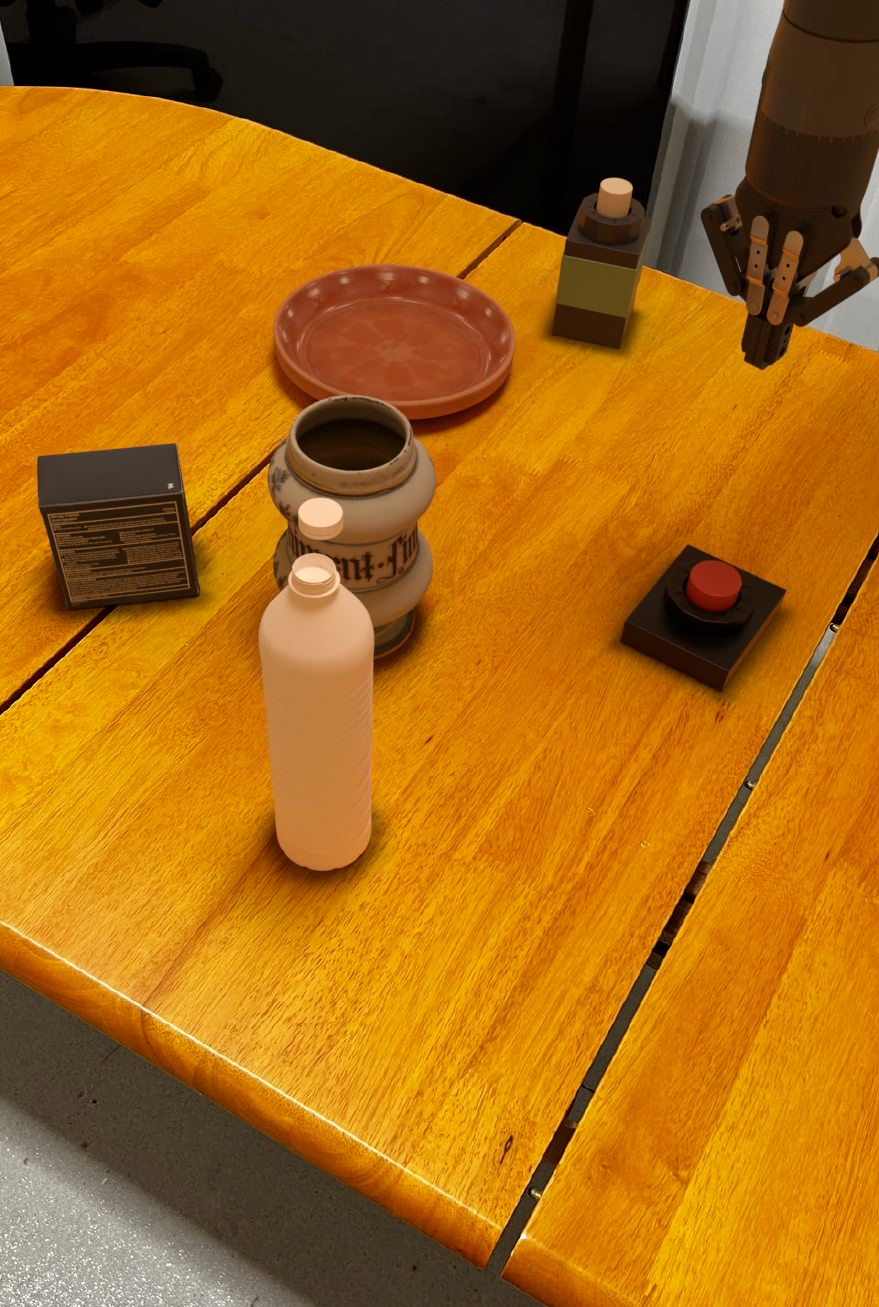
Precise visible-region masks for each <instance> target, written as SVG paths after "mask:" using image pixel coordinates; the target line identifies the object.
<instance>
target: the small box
mask: <svg viewBox="0 0 879 1307" xmlns="http://www.w3.org/2000/svg"><path fill="white" fill-rule="evenodd" d="M36 480H37V482H36V483H37V485H36V486H37V506H38V510H39V513H40V516H41V517H42V521H43V525H44V527H45V531H46V535H47V538H48V543H49V547H50V550H51V551H50V552H51V554H52V557H53V561H54V565H55V568H56V571H57V575H58V580H59V583H60V586H61V589H62V593H63V598H64V606H65V608H66V609H67V610H78V609H87V608H88V609H89V608H95V607H105V606H112V605H113V606H114V605H121V604H131V603H141V602H148V601H149V602H151V601H158V600H167V599H176V598H185V597H192V596H193V597H194V596H198V595H199V594H200V593H201V586H200V582H199V578H198V575H199V574H198V571H197V562H196V558H197V557H196V553H195V552H196V551H195V548H194V547H195V546H194V541H193V535H192V528H191V523H190V517H189V511H188V503H187V498H186V497H187V496H186V492H185V484H184V479H183V473H182V467H181V461H180V455H179V447H178V444H177V443H176V442H171V443H160V444H152V445H151V444H150V445H140V446H130V447H121V448H110V449H97V450H88V451H78V452H67V453H56V454H44V455H38V456H37V459H36Z"/></svg>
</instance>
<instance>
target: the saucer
mask: <svg viewBox="0 0 879 1307" xmlns="http://www.w3.org/2000/svg"><path fill="white" fill-rule="evenodd" d="M272 328H273V329H272V332H273V333H272V334H273V344H274V352H275V356H276V358H277V362H278V364H279V365H280V368H281V369H282V370H283V372H284V374H285V375H286V377H287V378H288V379H290V381H291V382H292V383H293V384H294V385H295V386H296V387H298V388H299V389H300V390H301V391H303V392H304V393H306V394H307V395H309V396H310V397H312V398H314V399H315V400H317V401H321V400H324V399H327V398H330V397H335V396H341V395H361V396H368V397H372V398H376V399H379V400H382V401H385V402H387V403H389V404H391V405H392V406H394V407H395V408H397V409H398V410H399V411H400V412H402V413H403V414H404V415H405V416H406V418H407V419H408V420H423V419H425V420H426V419H430V418H431V419H433V418H437V417H442V416H447V415H451V414H455V413H457V412H461V411H464V410H467V409H468V408H471V407H472V406H475V405H477V404H479V403H481V402H482V401H484V400H486V399H488V398H489V397H490V396H491V395H493V394H494V393H495V392H496V391H497V390H498V389H499V388H500V387H501V386H502V385H503V383H504V382H505V381H506V380H507V377H508V376H509V374H510V371H511V369H512V366H513V363H514V362H513V361H514V357H515V352H516V342H517V341H516V332H515V329H514V325H513V323H512V321H511V319H510V317H509V315H508V314H507V312H506V310H504V309H503V307H502V306H501V305H500V304H499V303H498V302H497V301H496V300H495V299H494V298H493V297H492V296H490V295H489V294H487V293H486V292H484V291H483V290H482V289H480V288H479V287H477V286H475V285H474V284H472V283H470V282H468V281H466V280H464V279H462V278H459V277H457V276H454V275H453V274H449V273H446V272H442V271H439V270H435V269H430V268H426V267H422V266H416V265H409V264H397V263H375V264H373V263H372V264H363V265H354V266H349V267H344V268H339V269H336V270H333V271H329V272H325V273H324V274H321V275H319V276H316V277H314V278H311V279H309V280H308V281H306V282H304V283H302V284H301V285H299V286H298V287H297V288H295V289H294V290H293V291H292V292H290V294H288V295H287V296H286V298H284V300H283V301H282V303H281V304H280V306H279V307H278V309H277V311H276V314H275V316H274V320H273V327H272Z"/></svg>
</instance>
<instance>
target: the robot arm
mask: <svg viewBox="0 0 879 1307" xmlns="http://www.w3.org/2000/svg"><path fill="white" fill-rule="evenodd" d="M782 3H783V4H782V8H781V12H780V16H779V20H778V23H777V26H776V29H775V32H774V35H773V38H772V41H771V44H770V46H769V47H770V48H769V50H768V54H767V57H766V58H767V59H766V63H765V68H764V70H763V73H762V76H761V88H760V93H759V96H758V101H757V105H756V111H755V117H754V120H753V126H752V130H751V135H750V140H749V145H748V148H747V155H746V159H745V164H744V173H745V175H744V177H743V179H741V182H739V184H738V185H737V187H736V189H735V192H734V194H729V193H728V194H725V195H724V196H722V197H720V198H718V199H716V200H715V201H712V202H711V203H710V204H709V205H707V206H706V207H704V208H703V209H702V210H701V212H700V220H701V223H702V226H703V229H704V232H705V234H706V237H707V240H708V243H709V245H710V248H711V251H712V254H713V256H714V259H715V262H716V264H717V268H718V270H719V273H720V276H721V278H722V282H723V284H724V287H725V289H726V292H727V293H728V294H729V296H731V297H738V296H739V297H740V298H741V299H742V300H743V301H744V302H745V309H746V311H747V316H746V320H745V325H744V328H743V333H742V337H741V341H740V348H741V352H742V353H743V354H744V356H743V362H745V363H747V364H748V365H750V366H752V367H755V368H756V369H758V370H761V371H764V370H765V369H767V368H768V367H769V366H772V365H774V364H775V363H776V362H778V361H779V360H781V359H782V358H783V357H784V356H785V355H786V353H787V352H788V347H789V344H790V340H791V337H792V333H793V329H794V325H795V326H797V328H804V327H806V326H807V325H809V324H810V323H812V322H813V321H815V320H816V319H818V318H819V317H821V316H823V315H825V314H826V313H827V312H829V311H830V310H832V309H834V308H835V307H836V306H838V305H840V304H841V303H843V302H845V301H846V300H848V299H849V298H851V297H852V296H854V295H855V294H857V293H858V292H860V291H861V290H862V289H864V288H865V287H867V286H868V285H869V284H870V283H872V282H874V280H876V279H877V278H878V277H879V257H877V256H873V257H870V256H869V255H868V253H867V251H866V250H865V248H864V247H863V245H862V243H861V241H860V240H859V238H860V236H861V235H862V230H863V221H862V214H861V211H862V210H861V208H862V203H863V200H864V198H865V195H866V193H867V190H868V188H869V185H870V181H871V178H872V175H873V171H874V167H875V163H876V161H877V157H878V153H879V0H783V2H782ZM839 255H840V261H839V263H838V265H837V266H835V268H834V270H833V277H832V279H833V281H834V282H832V284H830V285H828V286H827V287H825V288H824V289H823V290H821V291H819V292H818V293H817V294H815V295H813V296H807V293H808V291H809V287H810V285H811V283H812V282H813V281H814V279H815V278H816V276H817V274H818V271H819V270H821V268H823V267H824V266H825V265H827V264H828V263H829V262H831V261H833V259H835V258H836V257H838V256H839Z"/></svg>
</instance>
